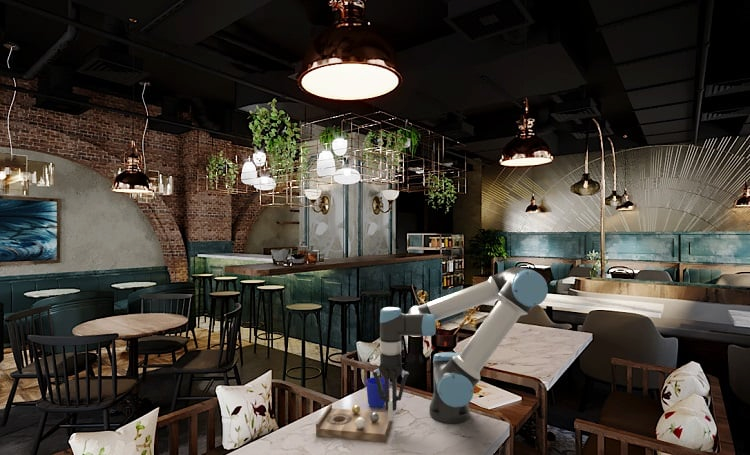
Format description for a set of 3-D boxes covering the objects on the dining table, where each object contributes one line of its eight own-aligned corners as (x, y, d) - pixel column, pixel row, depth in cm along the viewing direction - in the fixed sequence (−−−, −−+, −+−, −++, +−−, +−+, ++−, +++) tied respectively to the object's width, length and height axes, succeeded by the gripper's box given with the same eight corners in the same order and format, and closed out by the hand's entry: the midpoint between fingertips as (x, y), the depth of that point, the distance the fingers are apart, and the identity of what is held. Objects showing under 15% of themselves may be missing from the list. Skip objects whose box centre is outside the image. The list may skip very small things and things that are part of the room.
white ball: (366, 426, 139) (366, 415, 139) (364, 430, 136) (363, 420, 136) (356, 425, 140) (356, 415, 140) (354, 430, 136) (353, 419, 137)
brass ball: (360, 412, 150) (360, 404, 150) (359, 415, 147) (359, 407, 147) (353, 411, 151) (353, 403, 151) (351, 415, 148) (351, 407, 148)
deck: (391, 419, 149) (391, 408, 149) (384, 441, 133) (384, 429, 133) (330, 414, 154) (330, 404, 154) (316, 435, 138) (315, 424, 138)
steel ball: (379, 420, 143) (379, 411, 143) (378, 424, 140) (378, 415, 140) (371, 419, 144) (370, 410, 144) (369, 423, 141) (369, 414, 141)
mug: (394, 411, 156) (394, 385, 156) (364, 409, 158) (364, 383, 158) (397, 402, 164) (397, 378, 164) (368, 400, 166) (368, 376, 166)
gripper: (410, 349, 144) (410, 415, 143) (374, 348, 146) (374, 412, 146) (407, 356, 136) (408, 425, 136) (370, 354, 139) (370, 422, 139)
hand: (391, 419), depth 141 cm, fingers closed
